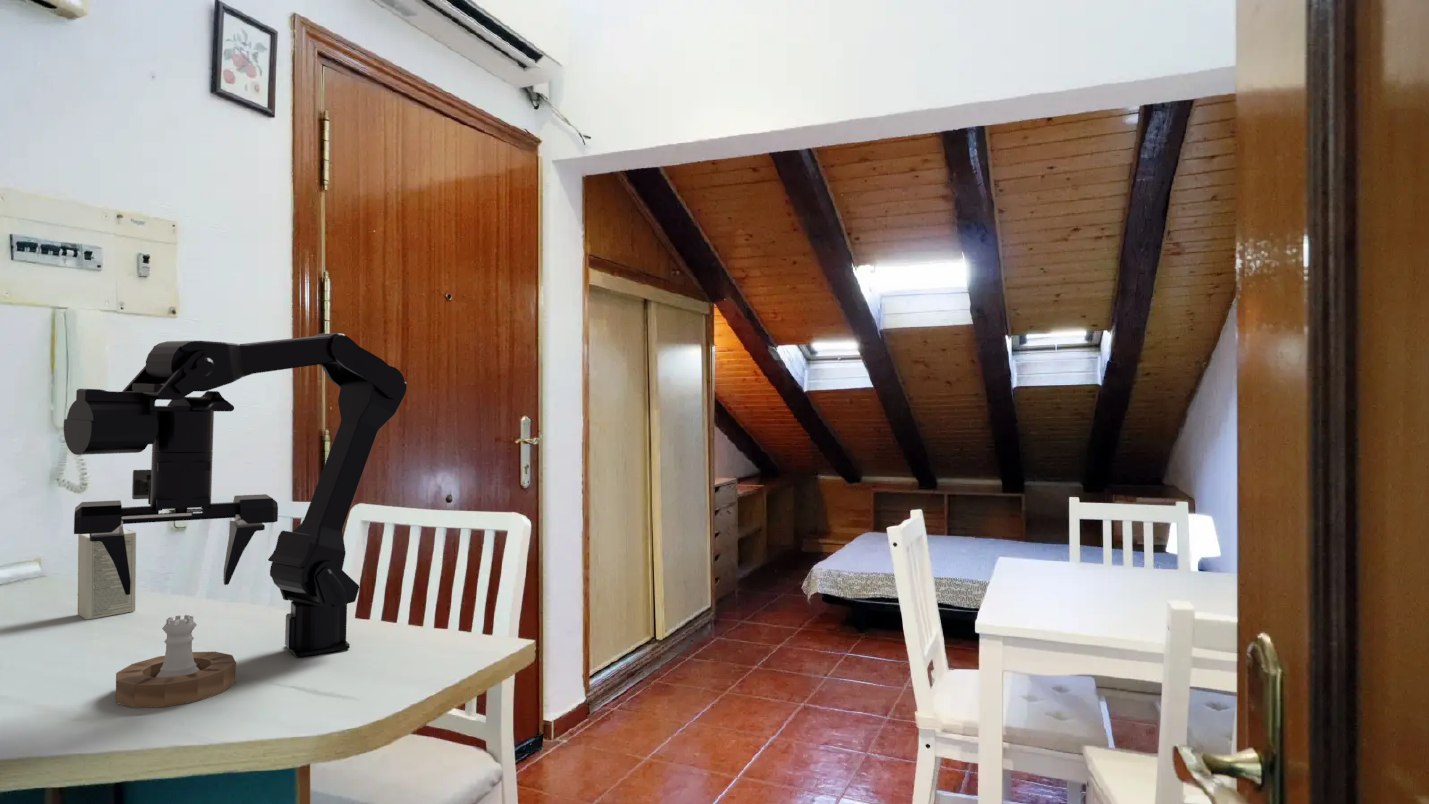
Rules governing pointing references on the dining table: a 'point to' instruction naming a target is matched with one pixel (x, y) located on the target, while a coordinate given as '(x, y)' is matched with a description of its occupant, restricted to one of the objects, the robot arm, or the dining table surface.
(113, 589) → the skincare box
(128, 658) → the dining table surface
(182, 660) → the rook chess piece
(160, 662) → the walnut bead ring
